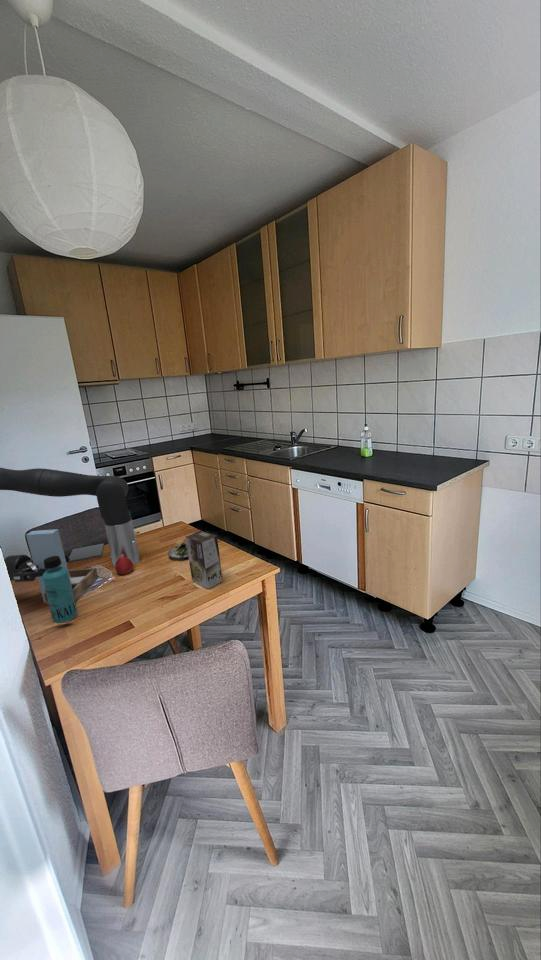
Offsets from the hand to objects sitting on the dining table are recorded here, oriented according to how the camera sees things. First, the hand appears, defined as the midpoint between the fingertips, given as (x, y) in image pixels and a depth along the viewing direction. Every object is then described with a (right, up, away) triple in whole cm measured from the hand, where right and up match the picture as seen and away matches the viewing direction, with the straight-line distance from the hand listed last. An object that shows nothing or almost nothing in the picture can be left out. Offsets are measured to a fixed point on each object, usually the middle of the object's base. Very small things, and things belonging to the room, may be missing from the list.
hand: (61, 564), depth 116 cm
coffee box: (+43, -8, +9) cm, 45 cm away
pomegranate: (+13, -8, +18) cm, 23 cm away
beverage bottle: (+5, -15, -7) cm, 17 cm away
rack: (0, -11, +8) cm, 14 cm away
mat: (-11, -4, +39) cm, 41 cm away
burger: (+30, -3, +31) cm, 44 cm away
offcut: (-1, -9, +10) cm, 14 cm away
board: (-2, -13, +3) cm, 13 cm away
